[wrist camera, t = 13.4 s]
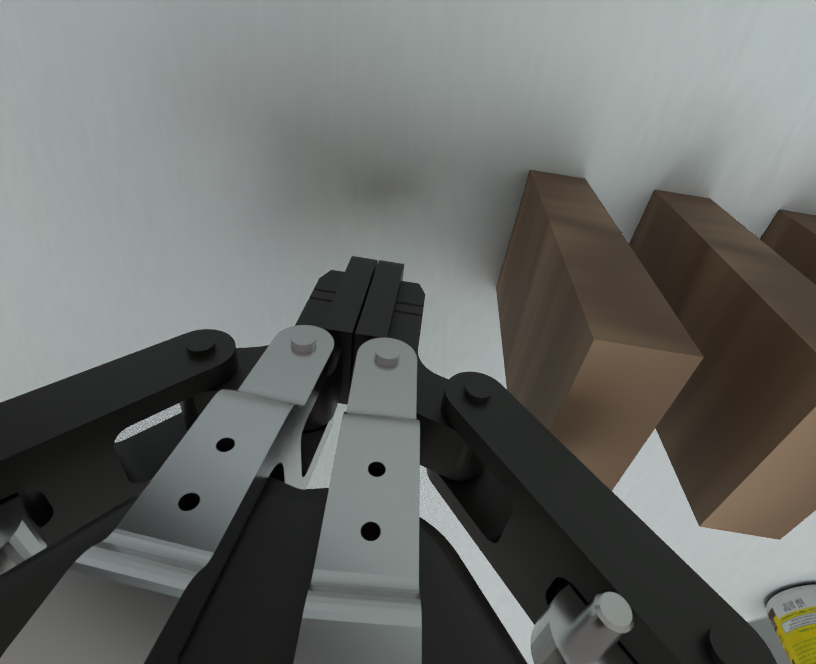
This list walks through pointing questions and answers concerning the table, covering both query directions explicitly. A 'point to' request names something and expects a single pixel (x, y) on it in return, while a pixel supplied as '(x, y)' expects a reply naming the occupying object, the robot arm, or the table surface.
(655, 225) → the domino
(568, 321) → the domino
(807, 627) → the supplement bottle
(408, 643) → the robot arm
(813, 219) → the domino
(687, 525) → the table surface
